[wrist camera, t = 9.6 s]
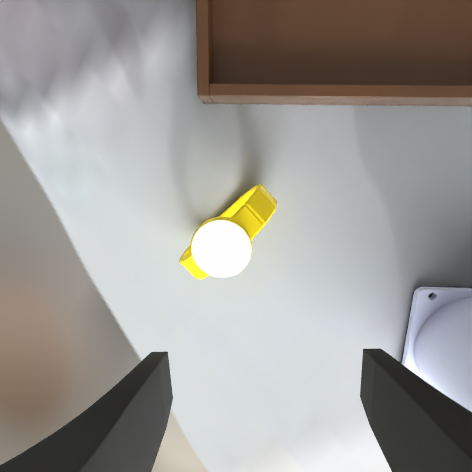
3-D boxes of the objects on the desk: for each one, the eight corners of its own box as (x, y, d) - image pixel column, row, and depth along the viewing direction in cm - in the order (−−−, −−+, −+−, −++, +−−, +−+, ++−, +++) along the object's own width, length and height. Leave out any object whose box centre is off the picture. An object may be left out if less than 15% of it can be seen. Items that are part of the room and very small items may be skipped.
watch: (251, 171, 19) (252, 177, 13) (281, 204, 19) (295, 224, 13) (181, 235, 20) (155, 268, 14) (211, 266, 20) (197, 309, 14)
